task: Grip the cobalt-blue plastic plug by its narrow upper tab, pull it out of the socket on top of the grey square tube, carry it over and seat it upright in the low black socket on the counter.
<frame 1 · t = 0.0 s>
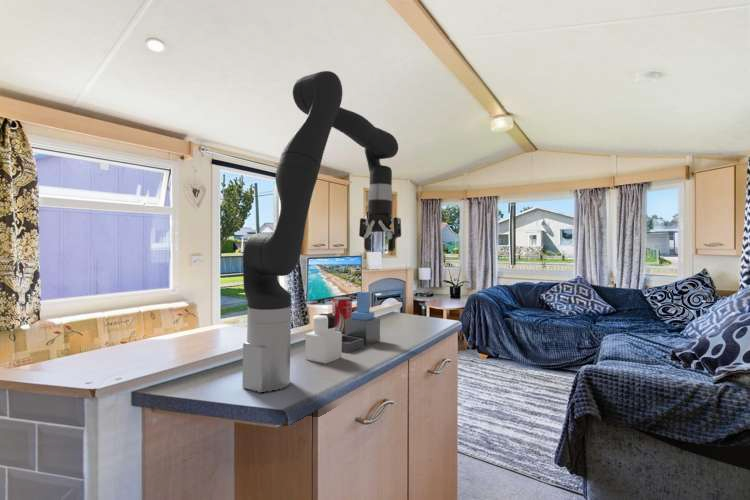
hand: (379, 250, 122), 29 cm above the countertop, tool pointing down, fingers open, 8 cm apart
medicine bottle: (323, 359, 105), on the countertop
soda can: (341, 331, 139), on the countertop
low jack: (345, 347, 116), on the countertop
plug: (362, 323, 124), point 6 cm above the countertop, touching grey square tube
grey square tube: (362, 341, 124), on the countertop
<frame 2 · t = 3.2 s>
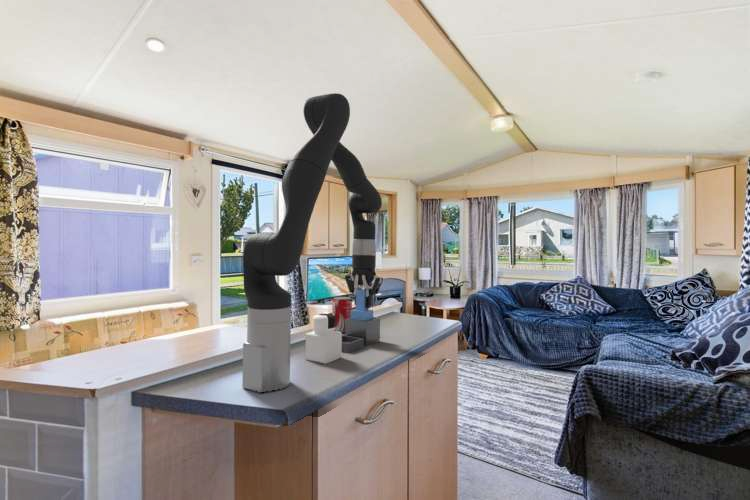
hand: (363, 307, 124), 11 cm above the countertop, tool pointing down, fingers closed on plug, 3 cm apart
plug: (361, 320, 124), point 7 cm above the countertop, touching gripper
everything else where it was.
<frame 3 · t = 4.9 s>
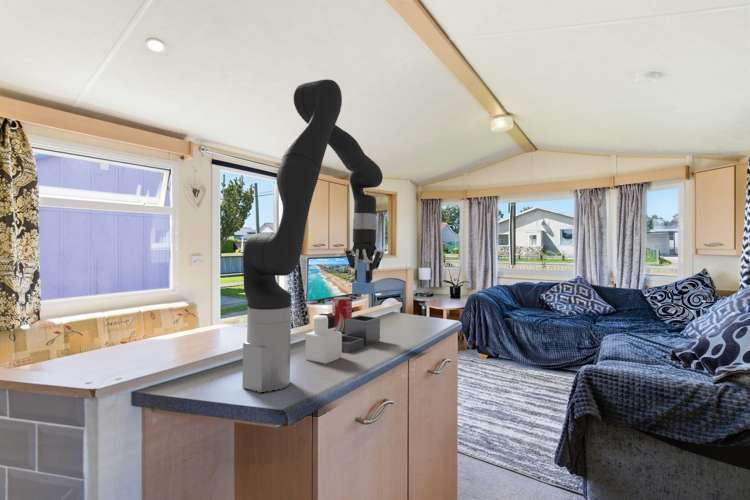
hand: (363, 281, 124), 19 cm above the countertop, tool pointing down, fingers closed on plug, 3 cm apart
plug: (363, 293, 124), point 16 cm above the countertop, touching gripper
everything else where it was.
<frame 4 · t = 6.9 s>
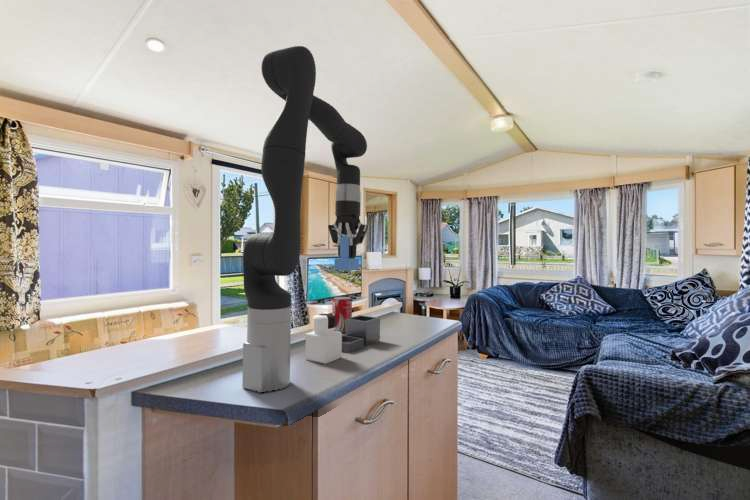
hand: (347, 257, 116), 27 cm above the countertop, tool pointing down, fingers closed on plug, 3 cm apart
plug: (346, 269, 116), point 24 cm above the countertop, touching gripper
everything else where it was.
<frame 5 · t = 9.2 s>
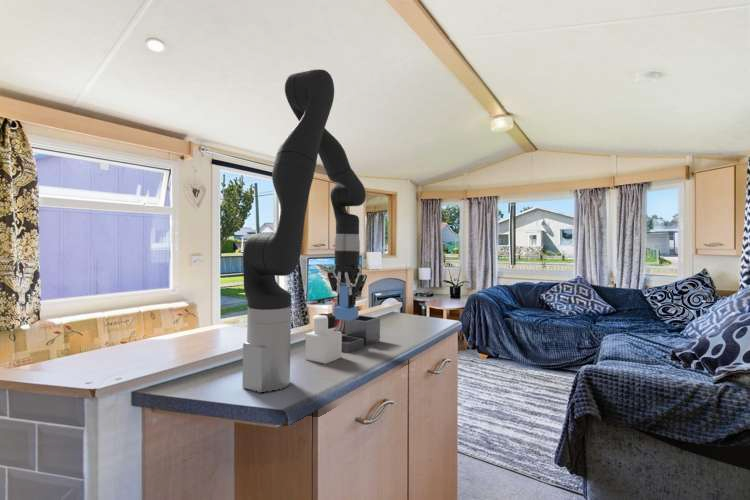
hand: (346, 306, 116), 12 cm above the countertop, tool pointing down, fingers closed on plug, 3 cm apart
plug: (346, 318, 117), point 9 cm above the countertop, touching gripper
everything else where it was.
when the fingers open (7 cm above the countertop, at t = 11.0 s): plug drops 2 cm, resting on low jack.
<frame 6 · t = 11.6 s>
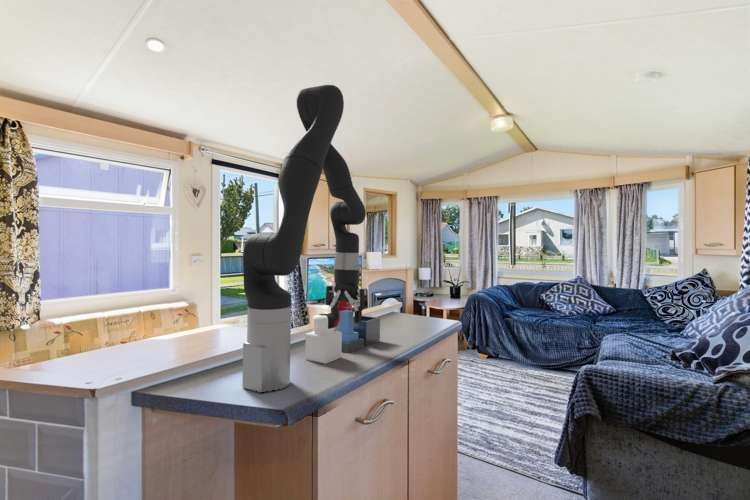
hand: (346, 321, 116), 8 cm above the countertop, tool pointing down, fingers open, 8 cm apart
plug: (346, 344, 117), point 1 cm above the countertop, touching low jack
everything else where it was.
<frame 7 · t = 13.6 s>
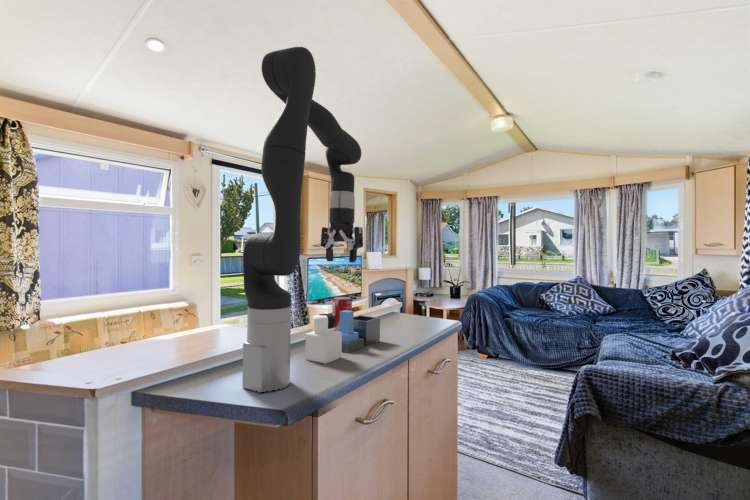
hand: (340, 261, 116), 26 cm above the countertop, tool pointing down, fingers open, 8 cm apart
nothing on the countertop moved.
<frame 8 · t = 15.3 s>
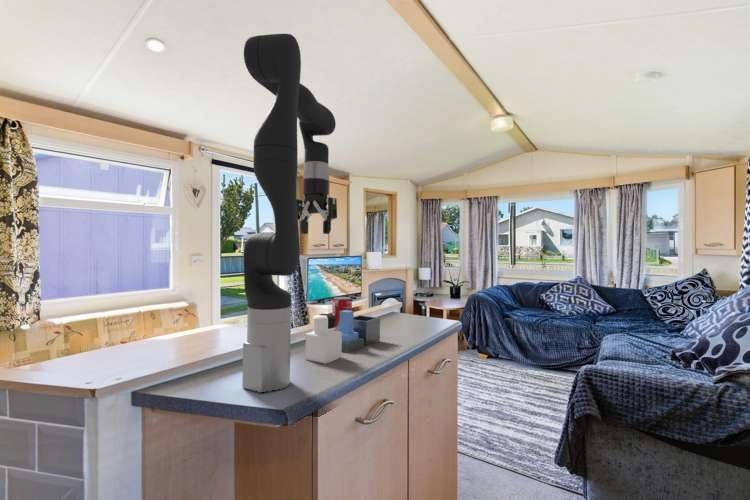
hand: (315, 233, 114), 34 cm above the countertop, tool pointing down, fingers open, 8 cm apart
nothing on the countertop moved.
at the end: plug 0.1 cm off-centre on the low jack, point 1.0 cm above the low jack's base; plug tilted 0°; the gripper is holding nothing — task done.
